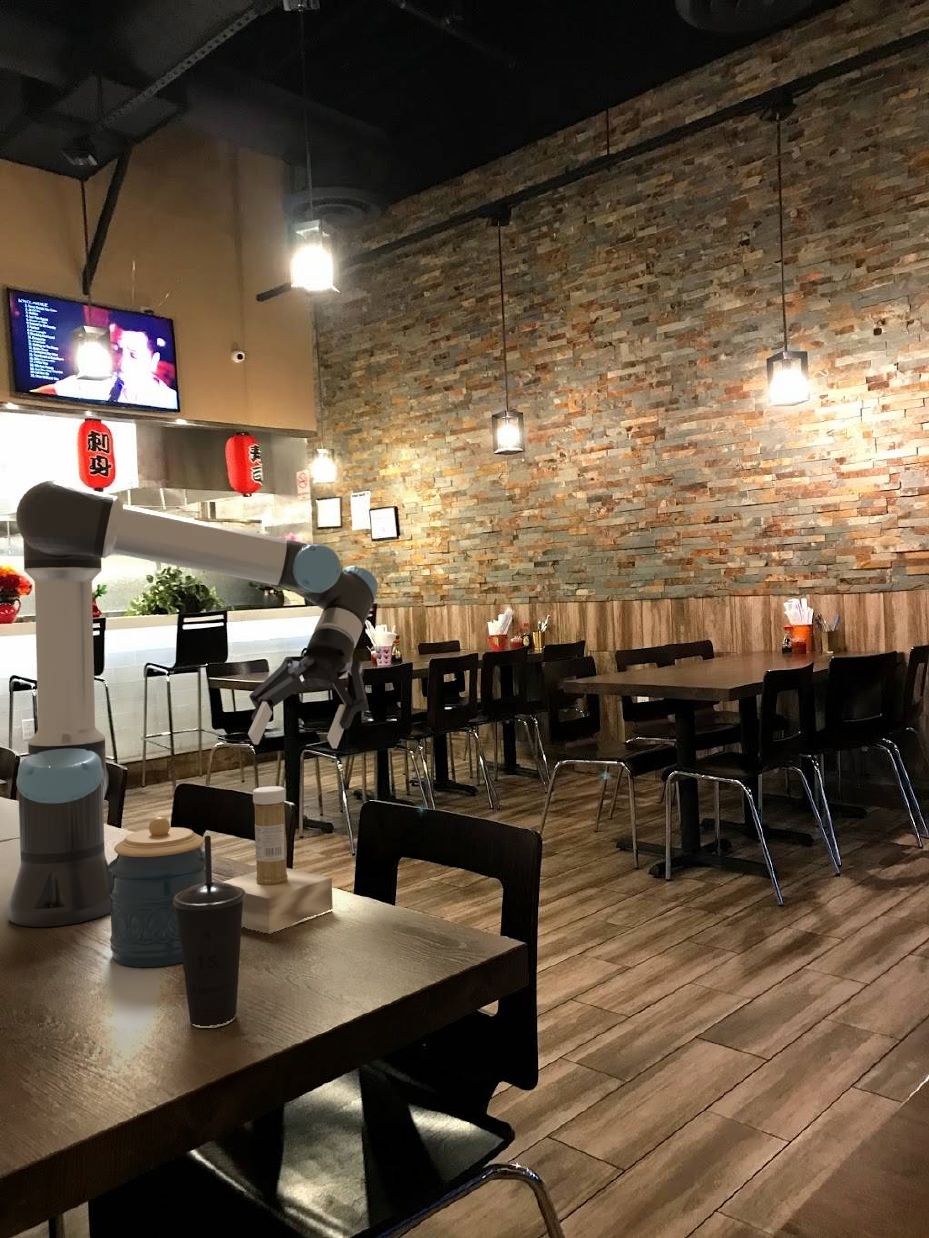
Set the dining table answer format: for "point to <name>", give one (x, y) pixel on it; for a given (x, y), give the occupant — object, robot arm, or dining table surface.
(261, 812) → the sprinkles bottle
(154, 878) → the canister
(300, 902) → the maple block
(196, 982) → the drinking cup
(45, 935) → the dining table surface
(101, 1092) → the dining table surface
